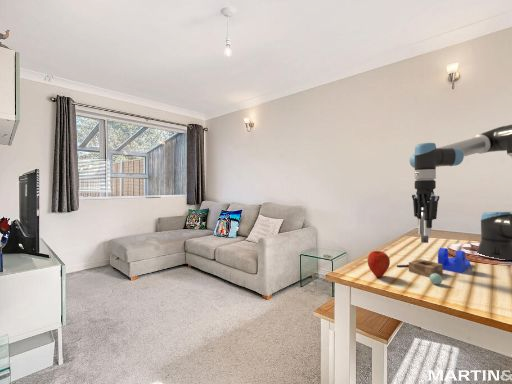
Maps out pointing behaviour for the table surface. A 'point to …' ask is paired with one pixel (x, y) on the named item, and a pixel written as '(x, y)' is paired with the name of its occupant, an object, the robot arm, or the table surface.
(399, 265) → the thin dark grey rod
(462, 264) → the bracket
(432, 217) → the robot arm
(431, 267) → the square wooden ring
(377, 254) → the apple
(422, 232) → the grey metal cylinder rod
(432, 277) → the loose teal bead
